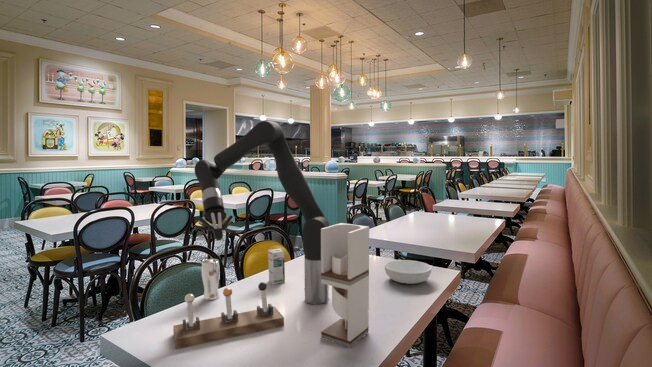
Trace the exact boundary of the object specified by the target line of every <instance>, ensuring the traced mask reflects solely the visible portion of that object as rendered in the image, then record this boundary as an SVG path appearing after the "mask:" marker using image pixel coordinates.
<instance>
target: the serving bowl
mask: <svg viewBox="0 0 652 367" xmlns="http://www.w3.org/2000/svg"><path fill="white" fill-rule="evenodd" d="M432 268H433V267H432V266H431V265H430V264H428V263H426V262H422V261H418V260H412V259H410V260H409V259H398V260H397V259H395V260H391V261H390V260H389V261H388V262H385V263H384V271H385V275H387V276H388V277H389V279H391V280H393V281H395V282H397V283H401V284H404V283H406V284H405V285H413V284H419V283H423V282H426V280H428V279H429V277H430V276H431V274H432Z"/></svg>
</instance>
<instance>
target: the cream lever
mask: <svg viewBox="0 0 652 367" xmlns="http://www.w3.org/2000/svg"><path fill="white" fill-rule="evenodd" d="M194 301H195V295H194V294H193V293H187V294H186V295H185V296H184V302H185V303H186V304H187V318H188V321H186V323H187V329H190V328H196V322H195V321H196V319H194V308H193V307H194V306H193V302H194Z"/></svg>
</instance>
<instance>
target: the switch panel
mask: <svg viewBox="0 0 652 367" xmlns="http://www.w3.org/2000/svg"><path fill="white" fill-rule="evenodd" d="M267 307H269V313H267V314H262V309H261V308H262V306H260V305H256V309H253V310H248V311H242V312H239V313H238V311H237V310H236V309H235V310H232V311H233V312H232V313H233V314H234V320H231V321H226V316H225V315H226V314H225V312H224V311H223V312H221V313H220V314H221V315H220V316H218V317H217V316H216V317H213V318H206V319H201V320H200V318H199V316H196V317H195V322H196V328H190V329H187V321H186V318H185V319H182V323H180V324H174V325H172V327H173V332H172V333H173V340H174V345H175V349H176V350H177V349H183V348H187V347H193V346H197V345H202V344H206V343H210V342H214V341H215V342H216V341H220V340H225V339H229V338H235V337H238V336H244V335H248V334H253V333H256V332H257V333H258V332H262V331H267V330H272V329H276V328H281V327H285V317H284V316H283V315H282V313H281V312H280V311H279V310H278V309H277V307H275V306H273V305H272V304H271V303H267Z"/></svg>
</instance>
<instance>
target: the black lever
mask: <svg viewBox="0 0 652 367" xmlns="http://www.w3.org/2000/svg"><path fill="white" fill-rule="evenodd" d="M257 286H258V291H260V298H261V299H260V300H261V309H262V314H267V313H269V307H268V301H267V291H266V290H267V288H268V284H267V283H266V282H265V281H262V282H260V283H259V284H258V285H257Z"/></svg>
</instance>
